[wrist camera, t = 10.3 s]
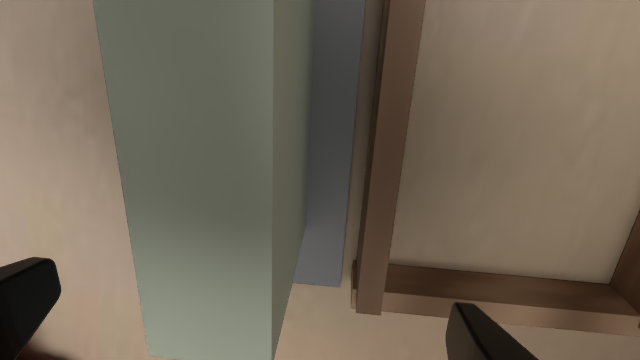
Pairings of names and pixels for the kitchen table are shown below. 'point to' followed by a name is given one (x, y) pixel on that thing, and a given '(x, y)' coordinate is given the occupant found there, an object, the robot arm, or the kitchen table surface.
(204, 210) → the pale green block
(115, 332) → the kitchen table surface
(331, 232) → the mat
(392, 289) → the rack
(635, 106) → the kitchen table surface
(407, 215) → the kitchen table surface
